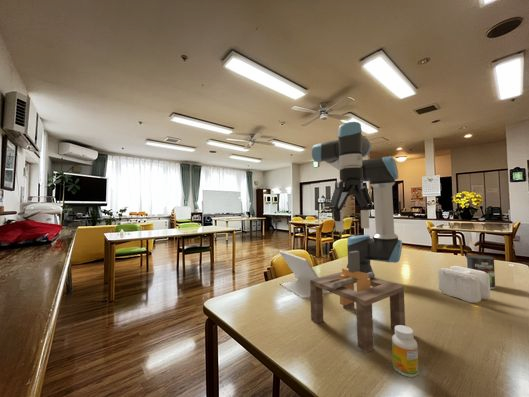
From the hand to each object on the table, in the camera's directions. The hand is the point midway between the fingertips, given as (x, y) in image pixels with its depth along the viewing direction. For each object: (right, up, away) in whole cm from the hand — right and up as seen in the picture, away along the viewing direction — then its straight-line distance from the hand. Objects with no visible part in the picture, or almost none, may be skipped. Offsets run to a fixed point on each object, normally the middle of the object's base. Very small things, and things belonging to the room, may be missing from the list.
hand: (352, 229), depth 79 cm
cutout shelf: (0, -32, -1) cm, 32 cm away
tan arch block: (0, -26, -1) cm, 26 cm away
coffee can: (+76, -32, +33) cm, 88 cm away
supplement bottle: (+4, -31, -23) cm, 39 cm away
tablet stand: (-11, -34, +36) cm, 51 cm away
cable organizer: (+56, -32, +20) cm, 67 cm away
